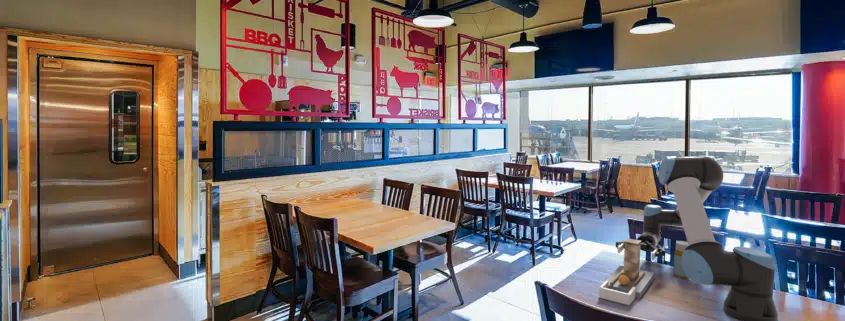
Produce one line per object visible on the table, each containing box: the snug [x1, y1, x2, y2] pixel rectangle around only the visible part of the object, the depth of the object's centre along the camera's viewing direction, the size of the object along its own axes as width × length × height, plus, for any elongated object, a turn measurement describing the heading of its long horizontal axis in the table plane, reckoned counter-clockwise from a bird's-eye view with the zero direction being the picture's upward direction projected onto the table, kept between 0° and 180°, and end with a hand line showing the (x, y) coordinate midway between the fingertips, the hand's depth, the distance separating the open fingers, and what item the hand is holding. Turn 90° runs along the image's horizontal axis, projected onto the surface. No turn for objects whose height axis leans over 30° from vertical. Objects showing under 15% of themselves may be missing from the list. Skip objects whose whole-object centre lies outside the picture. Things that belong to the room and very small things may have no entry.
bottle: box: [672, 240, 690, 280], centre depth 182 cm, size 7×7×15 cm
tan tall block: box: [622, 237, 641, 281], centre depth 175 cm, size 5×8×15 cm, turn 140°
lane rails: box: [610, 268, 645, 290], centre depth 173 cm, size 8×21×1 cm, turn 140°
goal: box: [598, 280, 637, 307], centre depth 162 cm, size 11×9×4 cm
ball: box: [618, 275, 629, 285], centre depth 168 cm, size 4×4×4 cm
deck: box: [601, 265, 656, 300], centre depth 175 cm, size 14×26×2 cm, turn 140°
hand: (635, 253), depth 182 cm, fingers open, 13 cm apart
